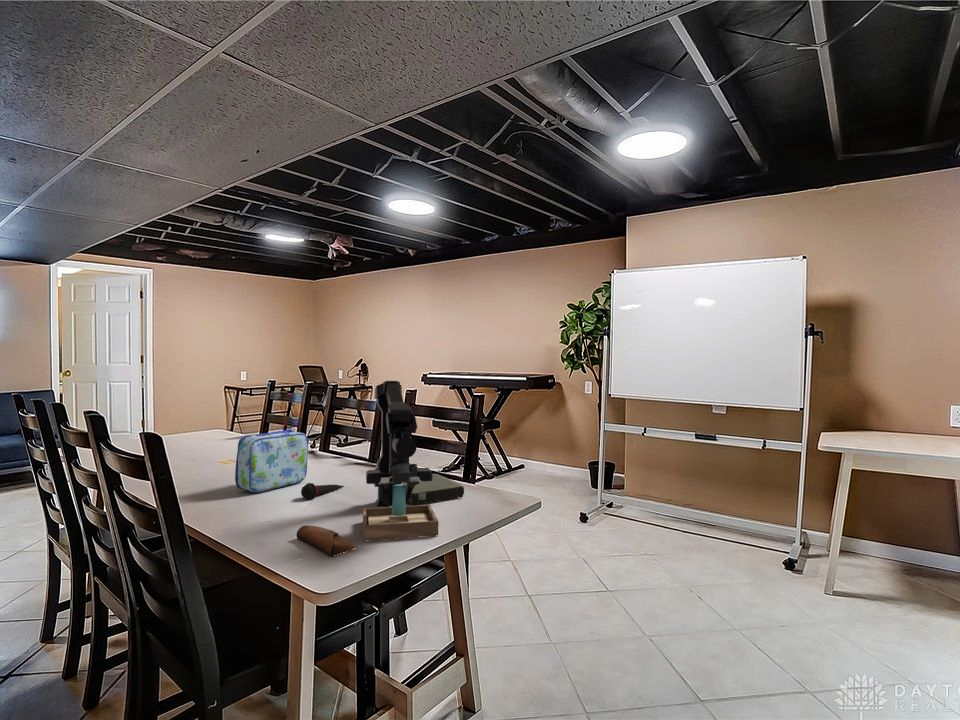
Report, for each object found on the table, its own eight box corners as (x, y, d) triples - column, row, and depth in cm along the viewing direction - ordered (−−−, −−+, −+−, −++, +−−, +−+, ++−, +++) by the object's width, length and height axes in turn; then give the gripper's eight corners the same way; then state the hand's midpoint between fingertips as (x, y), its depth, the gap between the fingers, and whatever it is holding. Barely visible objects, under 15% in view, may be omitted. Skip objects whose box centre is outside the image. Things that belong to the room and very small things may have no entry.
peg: (391, 512, 145) (391, 484, 145) (404, 511, 146) (405, 484, 146) (392, 516, 141) (392, 488, 141) (406, 515, 142) (406, 487, 142)
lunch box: (292, 478, 200) (293, 426, 200) (311, 481, 194) (311, 428, 194) (231, 492, 177) (232, 433, 177) (250, 496, 172) (251, 436, 172)
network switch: (379, 494, 178) (379, 480, 178) (431, 484, 194) (431, 471, 194) (416, 510, 161) (416, 494, 161) (470, 497, 177) (470, 483, 177)
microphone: (338, 495, 186) (298, 502, 168) (336, 480, 188) (296, 485, 170) (349, 492, 184) (310, 499, 166) (347, 477, 186) (308, 482, 168)
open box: (362, 522, 147) (363, 508, 147) (429, 517, 152) (429, 504, 152) (363, 541, 131) (364, 526, 131) (438, 535, 136) (438, 521, 136)
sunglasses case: (360, 548, 127) (349, 528, 124) (339, 569, 122) (327, 549, 120) (324, 531, 139) (313, 513, 136) (303, 549, 134) (292, 531, 132)
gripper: (367, 458, 134) (366, 515, 134) (435, 455, 138) (435, 511, 138) (366, 450, 144) (365, 504, 144) (429, 448, 149) (429, 500, 149)
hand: (398, 505), depth 144 cm, fingers closed on peg, 4 cm apart
